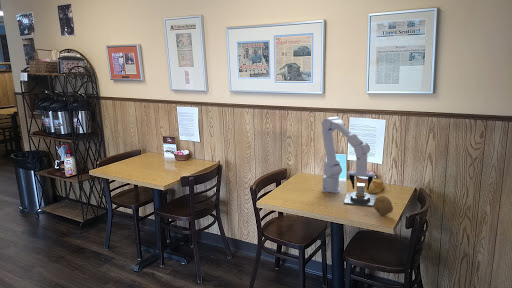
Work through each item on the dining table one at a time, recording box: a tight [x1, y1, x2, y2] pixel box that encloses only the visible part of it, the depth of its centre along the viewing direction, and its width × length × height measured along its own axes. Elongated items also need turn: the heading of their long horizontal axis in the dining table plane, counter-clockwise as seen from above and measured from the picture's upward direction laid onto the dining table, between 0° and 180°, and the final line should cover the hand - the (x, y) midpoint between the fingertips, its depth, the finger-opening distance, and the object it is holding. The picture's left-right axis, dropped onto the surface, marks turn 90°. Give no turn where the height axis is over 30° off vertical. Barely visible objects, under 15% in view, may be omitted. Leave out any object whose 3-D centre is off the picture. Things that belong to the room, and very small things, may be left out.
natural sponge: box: [373, 195, 394, 216], centre depth 192 cm, size 9×9×10 cm
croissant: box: [365, 178, 384, 195], centre depth 228 cm, size 21×10×8 cm, turn 142°
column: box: [356, 182, 366, 197], centre depth 211 cm, size 4×4×6 cm
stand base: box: [343, 191, 377, 208], centre depth 212 cm, size 16×16×4 cm
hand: (360, 189), depth 211 cm, fingers open, 7 cm apart
